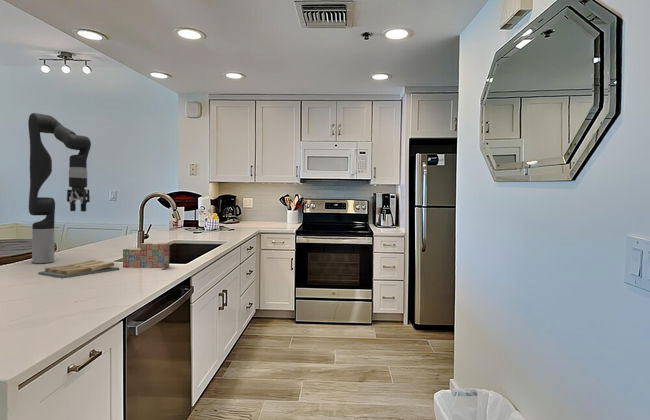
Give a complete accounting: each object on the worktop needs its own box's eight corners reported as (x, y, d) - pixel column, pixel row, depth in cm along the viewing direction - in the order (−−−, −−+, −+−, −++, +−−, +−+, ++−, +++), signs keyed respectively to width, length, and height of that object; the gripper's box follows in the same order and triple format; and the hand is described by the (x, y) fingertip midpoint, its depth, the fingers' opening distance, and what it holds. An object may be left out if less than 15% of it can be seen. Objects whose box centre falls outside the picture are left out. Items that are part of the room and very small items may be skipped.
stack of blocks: (122, 267, 201) (122, 243, 201) (129, 265, 207) (129, 242, 207) (164, 268, 200) (164, 243, 200) (169, 266, 206) (169, 242, 206)
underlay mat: (38, 274, 180) (38, 272, 180) (95, 266, 203) (95, 264, 203) (62, 278, 171) (62, 275, 171) (119, 269, 194) (119, 267, 194)
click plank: (68, 268, 191) (68, 264, 191) (91, 262, 201) (91, 259, 200) (91, 271, 182) (91, 268, 182) (114, 265, 192) (114, 262, 192)
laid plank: (45, 271, 182) (45, 268, 182) (67, 268, 190) (67, 265, 190) (68, 274, 173) (68, 271, 173) (90, 271, 182) (90, 268, 182)
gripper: (61, 177, 191) (61, 211, 191) (79, 176, 184) (79, 211, 185) (77, 178, 198) (77, 211, 198) (94, 177, 191) (94, 211, 191)
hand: (78, 211), depth 191 cm, fingers open, 8 cm apart
